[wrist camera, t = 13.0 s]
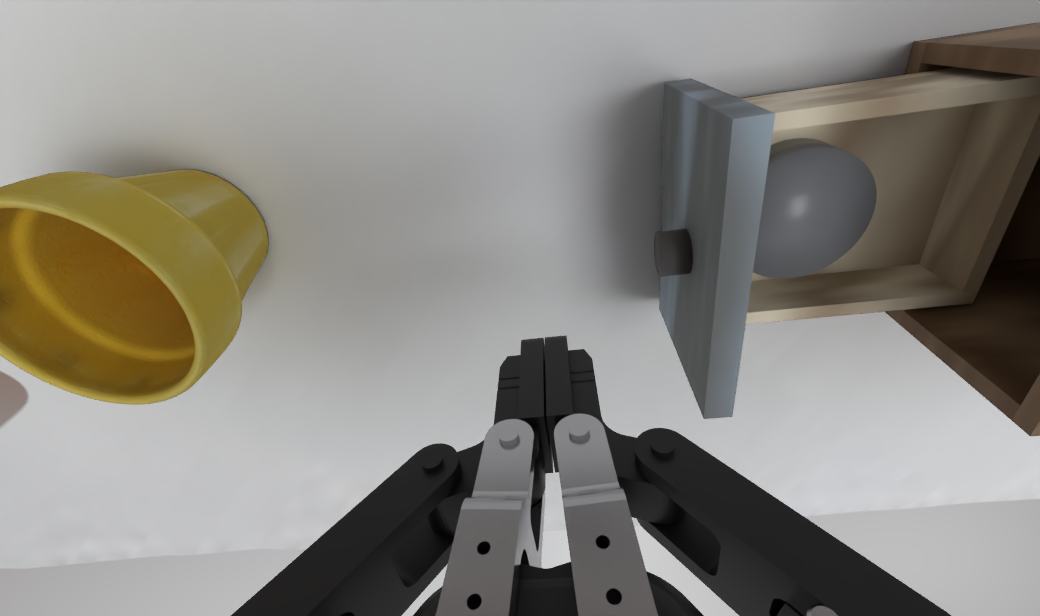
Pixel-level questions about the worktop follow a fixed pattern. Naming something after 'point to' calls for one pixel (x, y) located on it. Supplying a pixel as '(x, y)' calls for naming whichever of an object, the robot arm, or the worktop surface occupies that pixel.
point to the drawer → (895, 222)
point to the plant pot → (124, 279)
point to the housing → (1016, 264)
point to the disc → (811, 207)
